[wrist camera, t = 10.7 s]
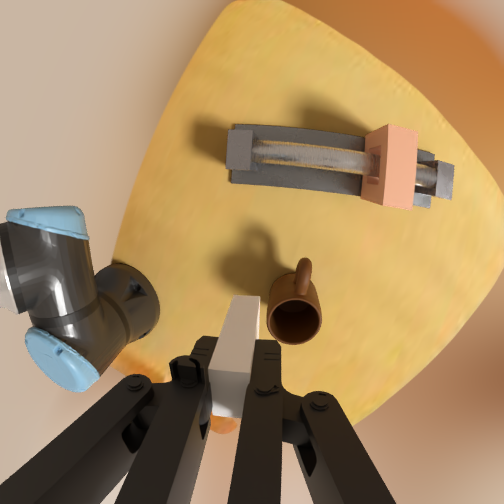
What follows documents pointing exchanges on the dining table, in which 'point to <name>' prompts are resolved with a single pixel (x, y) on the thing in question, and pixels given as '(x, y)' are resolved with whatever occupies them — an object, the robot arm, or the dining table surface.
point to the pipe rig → (321, 162)
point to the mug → (294, 307)
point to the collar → (392, 167)
